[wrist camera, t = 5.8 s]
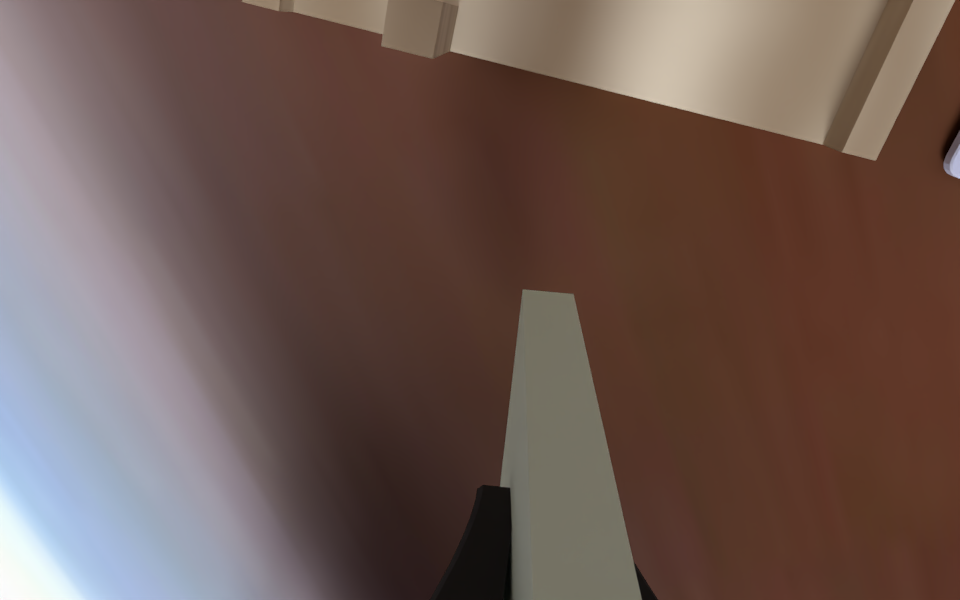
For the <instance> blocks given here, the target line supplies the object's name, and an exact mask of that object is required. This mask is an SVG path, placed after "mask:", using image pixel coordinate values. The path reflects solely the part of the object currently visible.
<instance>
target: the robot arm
mask: <svg viewBox="0 0 960 600" xmlns="http://www.w3.org/2000/svg"><path fill="white" fill-rule="evenodd" d="M944 169H945V171H946V172H947V174H949V175H951V176H954V177H957V178H960V131H959V132H958V134H957V136H956V138H955V140H954V142H953V144H952V145H951V147H950V149H949V151H948V153H947V155H946V157H945V160H944ZM511 532H512V522H511V493H510V488H508V487H498V486H487V485H483V486H481V487H480V488H478V489H477V494H476V500H475V503H474V507H473V511H472V514H471V516H470V519H469V522H468V524H467V527H466V530H465V532H464V535H463V537H462V539H461V541H460V543H459V545H458V548H457V550H456V552H455V554H454V556H453V558H452V561H451V563H450V564H449V566H448V568H447V570H446V572H445V574H444V576H443V577H442V579H441V581H440V583H439V585H438V586H437V588H436V590H435V592H434V594H433V595H432V597H431V599H430V600H503V598H504V587H505V579H506V572H507V564H508V556H509V548H510V540H511ZM633 562H634V561H633ZM634 567H635V571H636V575H637V580H638V584H639V589H640V593H641V598H642V600H658V599H657V598H656V596H655V595H654V593H653V591H652V590H651V588H650V587H649V585H648V584H647V582H646V580H645V579H644V577H643V576H642V574H641V572H640V571H639V569H638V568H637V566H636V564H635V563H634Z"/></svg>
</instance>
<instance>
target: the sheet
mask: <svg viewBox="0 0 960 600" xmlns="http://www.w3.org/2000/svg"><path fill="white" fill-rule="evenodd" d="M500 487H508V488H510V493H511V522H512V532H511V540H510V548H509V556H508V564H507V572H506V579H505V587H504V598H503V600H642V598H641V593H640V589H639V584H638V580H637V575H636V571H635V567H634V562H633V558H632V553H631V549H630V544H629V540H628V535H627V531H626V526H625V522H624V517H623V513H622V509H621V504H620V500H619V495H618V491H617V486H616V482H615V477H614V473H613V468H612V464H611V459H610V455H609V450H608V446H607V442H606V437H605V433H604V428H603V424H602V419H601V415H600V410H599V406H598V401H597V397H596V392H595V388H594V383H593V379H592V375H591V370H590V366H589V361H588V357H587V352H586V348H585V343H584V339H583V334H582V330H581V325H580V321H579V317H578V312H577V308H576V303H575V299H574V294H567V293H557V292H546V291H535V290H524V289H523V291H522V300H521V309H520V317H519V326H518V334H517V343H516V352H515V360H514V369H513V378H512V386H511V395H510V404H509V412H508V421H507V429H506V438H505V447H504V455H503V464H502V473H501V481H500Z"/></svg>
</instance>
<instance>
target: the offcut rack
mask: <svg viewBox="0 0 960 600" xmlns="http://www.w3.org/2000/svg"><path fill="white" fill-rule="evenodd" d="M954 1H955V0H242V2H245V3H249V4H253V5H257V6H261V7H265V8H269V9H273V10H277V11H287V12H296V13H300V14H304V15H308V16H312V17H316V18H320V19H324V20H328V21H332V22H336V23H340V24H344V25H348V26H352V27H356V28H360V29H364V30H368V31H372V32H376V33H380V34H383V37H382V44H381V46H383V47H387V48H391V49H395V50H399V51H403V52H407V53H411V54H415V55H419V56H423V57H427V58H431V59H433V58H436V57H438V56H440V55H442V54H445V53H447V52H449V51H452V52H456V53H460V54H464V55H468V56H472V57H476V58H480V59H484V60H487V61H491V62H495V63H499V64H503V65H507V66H511V67H515V68H519V69H523V70H527V71H531V72H535V73H539V74H543V75H547V76H551V77H555V78H559V79H563V80H567V81H571V82H575V83H579V84H583V85H587V86H591V87H595V88H599V89H603V90H607V91H611V92H615V93H619V94H623V95H627V96H631V97H635V98H639V99H643V100H647V101H651V102H655V103H659V104H663V105H667V106H671V107H675V108H679V109H683V110H687V111H691V112H695V113H699V114H703V115H707V116H711V117H715V118H719V119H723V120H727V121H731V122H735V123H739V124H743V125H747V126H751V127H755V128H758V129H762V130H766V131H770V132H774V133H778V134H782V135H786V136H790V137H794V138H798V139H802V140H806V141H810V142H814V143H818V144H822V145H825V146H827V147H830V148H832V149H835V150H838V151H840V152H843V153H847V154H851V155H855V156H859V157H863V158H867V159H871V160H875V161H876V159H877V157H878V155H879V153H880V151H881V149H882V147H883V145H884V143H885V141H886V138H887V136H888V134H889V132H890V130H891V128H892V126H893V124H894V122H895V120H896V118H897V116H898V114H899V112H900V110H901V108H902V106H903V104H904V102H905V100H906V98H907V96H908V94H909V92H910V90H911V88H912V86H913V84H914V82H915V80H916V78H917V76H918V74H919V72H920V70H921V68H922V66H923V64H924V62H925V60H926V58H927V56H928V54H929V52H930V50H931V48H932V46H933V44H934V42H935V40H936V38H937V36H938V34H939V32H940V30H941V28H942V26H943V23H944V21H945V19H946V17H947V15H948V13H949V11H950V9H951V7H952V5H953V3H954Z"/></svg>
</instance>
